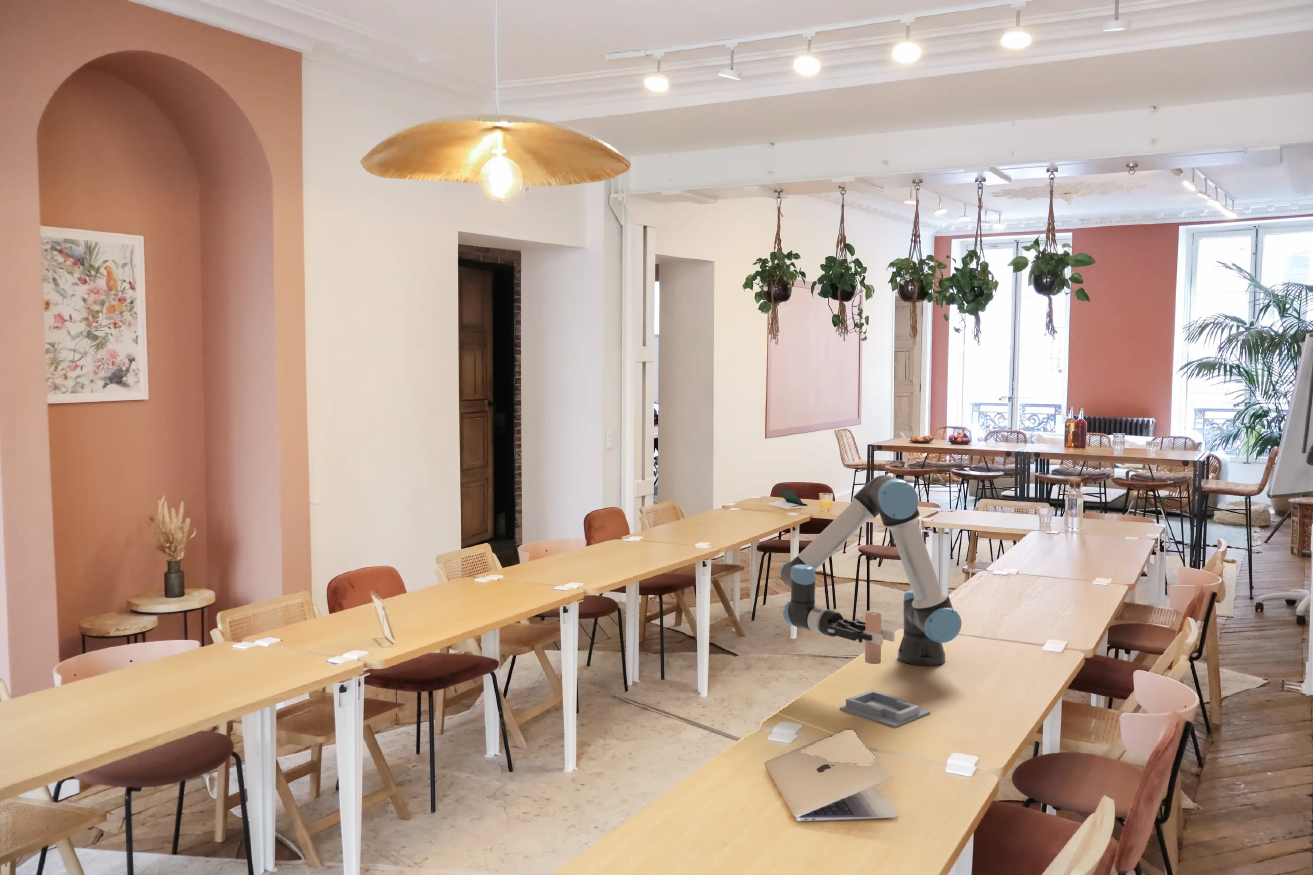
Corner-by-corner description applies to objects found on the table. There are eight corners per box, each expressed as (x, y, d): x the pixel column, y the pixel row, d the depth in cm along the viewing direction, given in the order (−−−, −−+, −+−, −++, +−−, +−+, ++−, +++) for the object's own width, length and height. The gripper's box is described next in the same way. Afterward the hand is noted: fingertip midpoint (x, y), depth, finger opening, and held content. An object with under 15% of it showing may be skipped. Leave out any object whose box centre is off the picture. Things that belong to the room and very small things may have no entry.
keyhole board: (875, 696, 288) (875, 687, 288) (930, 713, 274) (930, 704, 273) (840, 709, 278) (840, 700, 278) (895, 727, 263) (895, 718, 263)
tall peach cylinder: (871, 658, 288) (872, 611, 286) (883, 661, 284) (884, 614, 283) (861, 661, 285) (862, 613, 284) (873, 664, 281) (874, 617, 280)
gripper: (845, 629, 304) (907, 645, 285) (806, 639, 293) (867, 657, 274) (845, 605, 303) (907, 620, 285) (806, 614, 292) (868, 631, 274)
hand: (887, 638), depth 280 cm, fingers closed on tall peach cylinder, 4 cm apart
